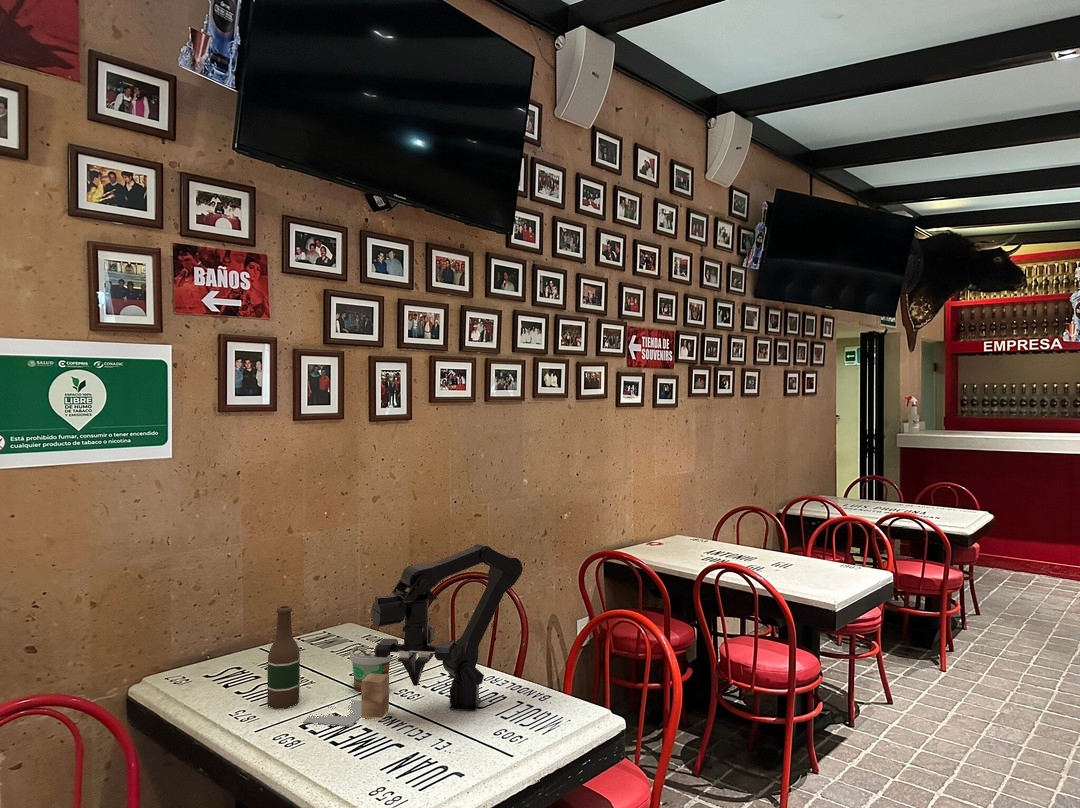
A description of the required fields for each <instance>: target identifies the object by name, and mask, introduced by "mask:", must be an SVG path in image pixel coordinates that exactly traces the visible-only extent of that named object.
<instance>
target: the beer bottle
mask: <svg viewBox="0 0 1080 808" xmlns="http://www.w3.org/2000/svg"><path fill="white" fill-rule="evenodd" d="M292 611H293V609H292V606H289V605H281V606H278V607H277V609H276V614H277V617H276V632H275V633H276V634H275V639H274V641H273V643H272V644H271V647H270V648H269V649H270V650H269V651H268V656H267V687H266V688H267V692H266V695H267V698H266V699H267V706H268V707H269V706H270V707H269V708H271V707H273V708H272V709H274V708H284V709H289V708H291V707H290V706H292V707H294V706H296V705H295V704H297V705H298V703H299V700H300V681H301V680H300V679H301V677H300V676H301V675H300V674H301V673H300V671H301V670H300V669H301V665H300V661H301V659H300V657H301V656H300V653H301V652H300V648H299V645H298V642H296V640H295V638H294V635H293V630H292V629H293V625H292ZM293 705H294V706H293ZM288 707H289V708H288Z"/></svg>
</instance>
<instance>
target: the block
mask: <svg viewBox="0 0 1080 808" xmlns="http://www.w3.org/2000/svg"><path fill="white" fill-rule="evenodd" d="M360 694H361V695H360V696H361V717H360V719H361V718H365V719H364V720H369V719H376V720H375V721H383V719H384V718H385V717H386V716H387V714H389V712H390V708H389V707H390V674H389V675H387V674H371V673H369V674H368V675H367V676H366V677H365V678H364V679H363V680H362V690H361V693H360ZM388 711H389V712H388ZM385 715H386V716H385ZM384 716H385V717H384Z"/></svg>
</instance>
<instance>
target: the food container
mask: <svg viewBox="0 0 1080 808" xmlns="http://www.w3.org/2000/svg"><path fill="white" fill-rule="evenodd" d="M349 655H350V656H349V661H350V662H352V674H353V686H354V690H356V691H358V692H361V690H362V680H363V679H364V678H365V677H366V676H367V675H368V674H369V673H371V674H387V675H389V676H390V664H391V663H390V662H391V661H393V660H392V658H393V657H392V654H390V655H389V656H388V657H387V658H384V657H375V650H363V649H359V647H358V645H355V646H354V647H353V648H351V651H350V654H349ZM356 691H355V692H356ZM358 692H357V693H358Z"/></svg>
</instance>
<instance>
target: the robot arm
mask: <svg viewBox="0 0 1080 808" xmlns="http://www.w3.org/2000/svg"><path fill="white" fill-rule="evenodd" d="M482 563H483V564H484V565H486V566H488V567H489V569H488V572H487V584H486V586H485V589H484V591H483V593H482V594H481V597H480V599H479V601H478V603H477V605H476V606H475V609H474V611H473V613H472V615H471V616H470V619H469V621H468V622H467V625H466V627H465V629H464V631H463V633H462V635H461V636H460V637H459V638H458V639H457V640H456V641H455V640H453V639H450V640H449V641H443V640H442V641H439V643H438V644H437V645H429V644H431V643H432V642H434V641H435V632H436V628H435V627H432V626H430V625H431V623H430V621H429V601H435V600H437V598H438V597H437V595H435V594H434V593H433V592H432V591H431V590H432V589H433V588H435V587H437V585H439V583H440V582H441V581H442V580H445V579H446V578H448V577H451V576H453V575H456V574H458V573H461V572H462V571H465V570H467V569H470V568H473V567H475V566H477V565H480V564H482ZM523 571H524V567H523V564H522V561H521V560H520V559H519V558H517V557H514V556H511V555H509V554H505V553H501V552H498V551H496V550H495V549H493V548H492V547H491V546H489V545H485V544H482V543H477V544H475V545H474V546H472V547H469V548H466V549H464V550H462V551H459V552H456V553H455V554H451V555H448V556H446V557H444V558H441V559H439V560H435V561H433V562H420V563H415V564H412V565H407V567H404V569H403V571H402V573H401V575H400V579H399V580H398V582H397V584H396V585H395V586H394V588H393V590H392V592H391V594H390V595H378V596H375V597H374V602H373V603H372V607H371V609H370V616H371V621H372V622H371V623H373V626H374V627H375V628H380V627H385V626H391V625H398V624H401V623H402V622H403V626H402V632H403V643H399V640H398V638H385V637H384V638H383V639H382V640H381V641H380V642H378V643H377V644H376V645H375V647H374V651H375V657H384V658H387V657H388V656H389V655H392V654H391V653H398V654H399V655H398V659H397V662H399V663H401V664H402V665H403V667H404V669H405V670H406V671H407V674H408V677H409V679H410V681H411V683H412V685H413V687H418V686H419V682H420V680H421V677H422V675H423V671H424V668H425V667H426V664H428V663H430V662H429V661H431V660H432V658H433V657H434V658H435V659H436V660H437V661H442V667H443V668H444V670H445V671H446V672H448V675H449V678H452V682H451V685H450V687H449V704H450V706H449V710H456V711H457V710H459V711H473V712H475V711H476V710H477V709H478V707H479V705H480V703H481V702H482V700H481V698H480V685H482V684H483V680H484V678H485V674H484V673H482V672H481V671H480V670H479V669H478V668H477V667H476V666H477V665H478V664H477V663H478V660H479V646H480V644H481V642H482V640H483V638H484V635H485V634H486V632H487V629H488V627H489V626H490V623H491V621H492V620H493V617H494V616H495V614H496V611H497V609H498V607H499V605H500V603H501V601H502V599H503V597H504V595H505V593H507V592H508V591H509V590H510V589H511V588H513V586H515V584H516V583H517V582H518V580H519V578H520V577H521V576H522V573H523ZM406 590H408V591H406ZM417 655H418V657H417Z"/></svg>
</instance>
